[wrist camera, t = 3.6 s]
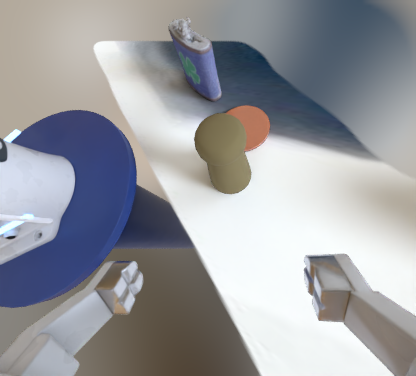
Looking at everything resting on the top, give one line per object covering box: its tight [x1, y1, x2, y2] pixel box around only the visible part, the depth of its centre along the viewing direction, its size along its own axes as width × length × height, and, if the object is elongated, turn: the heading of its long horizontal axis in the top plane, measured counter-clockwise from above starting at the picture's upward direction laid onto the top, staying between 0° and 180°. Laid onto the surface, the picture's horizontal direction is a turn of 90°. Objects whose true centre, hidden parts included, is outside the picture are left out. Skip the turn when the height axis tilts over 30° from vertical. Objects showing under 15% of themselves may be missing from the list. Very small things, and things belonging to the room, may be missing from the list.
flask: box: [169, 17, 221, 101], centre depth 28 cm, size 9×3×11 cm, turn 38°
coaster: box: [226, 106, 270, 151], centre depth 29 cm, size 8×8×1 cm
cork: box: [194, 113, 251, 194], centre depth 22 cm, size 6×6×11 cm
